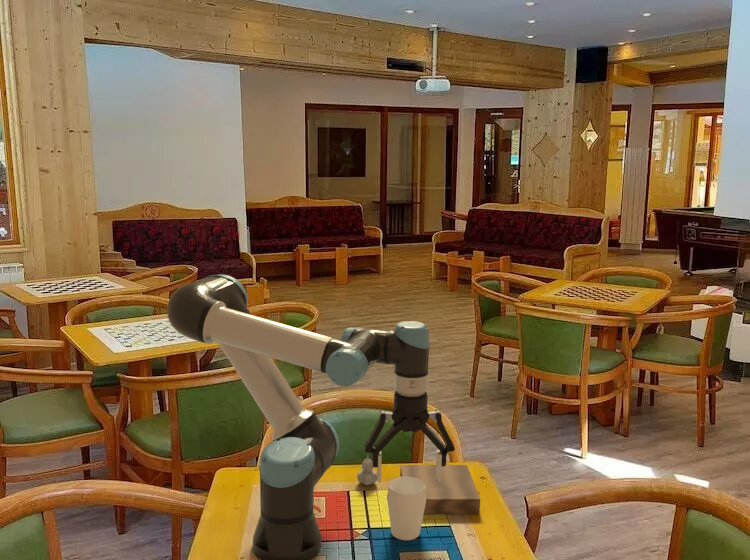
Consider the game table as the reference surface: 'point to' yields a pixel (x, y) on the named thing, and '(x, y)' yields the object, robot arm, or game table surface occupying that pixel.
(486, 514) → the game table surface
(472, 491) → the walnut base
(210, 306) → the robot arm
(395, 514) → the cup
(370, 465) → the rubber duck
